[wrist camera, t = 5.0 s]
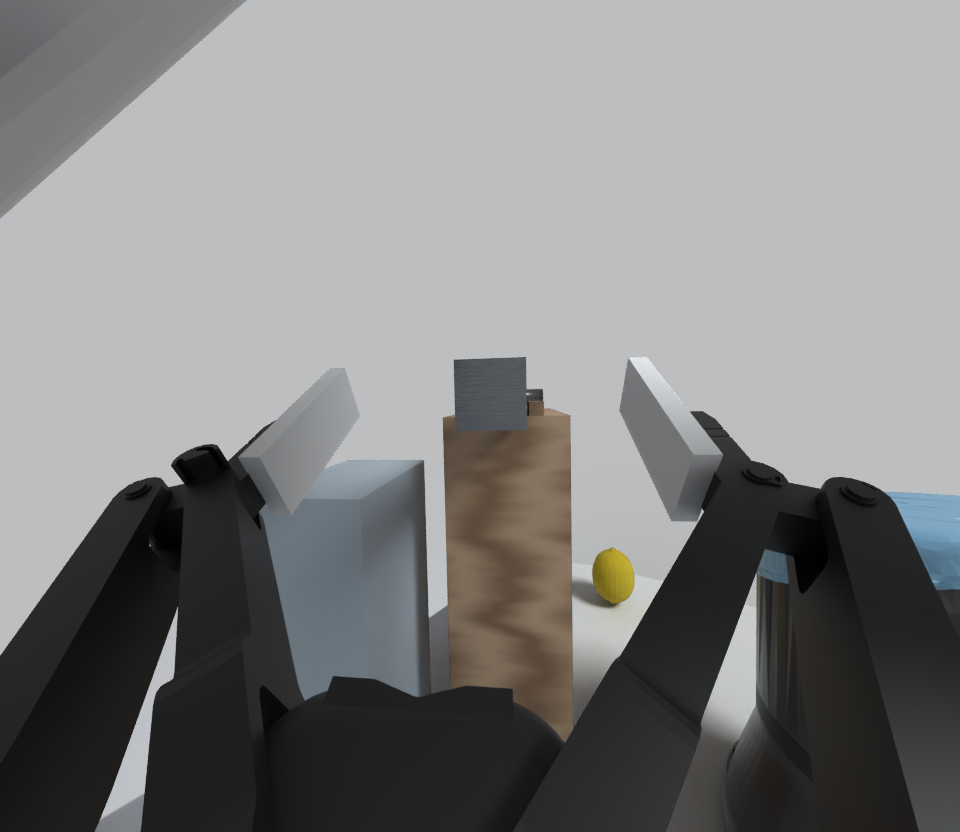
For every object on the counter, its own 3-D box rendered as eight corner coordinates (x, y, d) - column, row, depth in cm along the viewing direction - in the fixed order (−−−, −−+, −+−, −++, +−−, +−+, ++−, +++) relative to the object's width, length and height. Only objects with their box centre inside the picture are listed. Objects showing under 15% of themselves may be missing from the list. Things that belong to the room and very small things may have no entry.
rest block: (431, 720, 32) (423, 460, 30) (376, 914, 20) (360, 499, 19) (359, 713, 32) (349, 460, 31) (264, 895, 20) (242, 497, 19)
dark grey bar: (541, 408, 41) (541, 385, 41) (583, 429, 13) (582, 355, 13) (483, 409, 42) (482, 386, 41) (404, 431, 14) (402, 361, 14)
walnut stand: (552, 632, 43) (549, 400, 42) (573, 798, 25) (570, 401, 24) (481, 628, 44) (476, 401, 43) (452, 784, 26) (442, 403, 25)
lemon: (643, 609, 47) (643, 552, 47) (612, 620, 45) (612, 560, 45) (613, 589, 52) (613, 537, 52) (584, 598, 50) (583, 544, 50)
